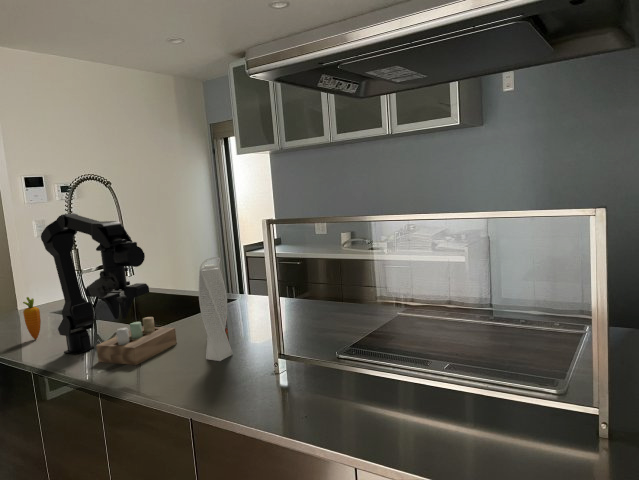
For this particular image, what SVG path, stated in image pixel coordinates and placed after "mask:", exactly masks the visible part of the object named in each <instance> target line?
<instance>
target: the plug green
mask: <svg viewBox="0 0 639 480" xmlns="http://www.w3.org/2000/svg"><path fill="white" fill-rule="evenodd" d="M142 327H143V325H142V322H141V321H135V322H132V323H129V328H130V330H131V337H132V339H139V338H141V337H143V333H142ZM130 330H129V331H130Z"/></svg>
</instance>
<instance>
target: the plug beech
mask: <svg viewBox="0 0 639 480" xmlns="http://www.w3.org/2000/svg"><path fill="white" fill-rule="evenodd" d="M142 327H144V333H152V332H154V331H155V327H156V326H155V320H154V317H153V316H147V317H143V318H142Z"/></svg>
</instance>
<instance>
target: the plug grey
mask: <svg viewBox="0 0 639 480" xmlns="http://www.w3.org/2000/svg"><path fill="white" fill-rule="evenodd" d="M128 331H129V328H128V327H120V328H117V329H116V336H117V340H118V345H126V344H128V343H130V340H129V332H128Z"/></svg>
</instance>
